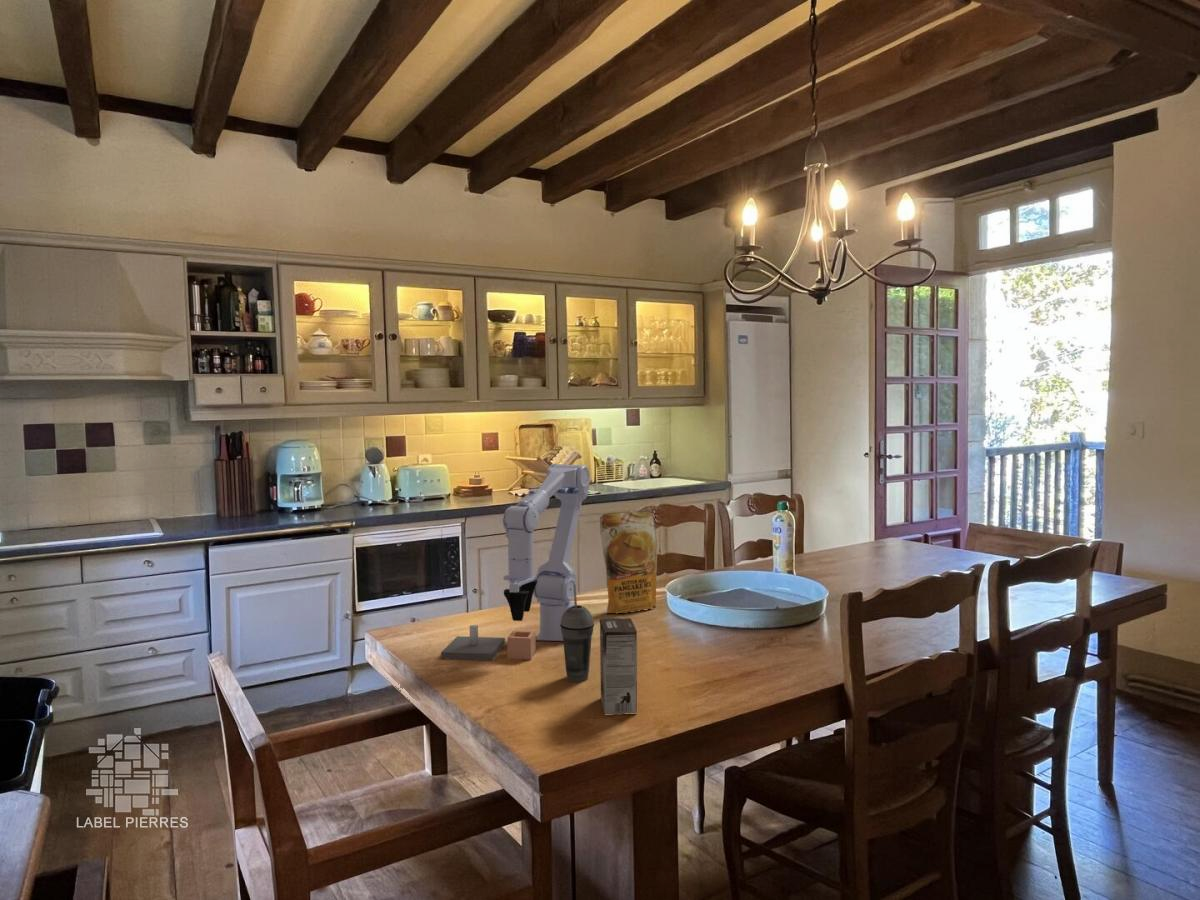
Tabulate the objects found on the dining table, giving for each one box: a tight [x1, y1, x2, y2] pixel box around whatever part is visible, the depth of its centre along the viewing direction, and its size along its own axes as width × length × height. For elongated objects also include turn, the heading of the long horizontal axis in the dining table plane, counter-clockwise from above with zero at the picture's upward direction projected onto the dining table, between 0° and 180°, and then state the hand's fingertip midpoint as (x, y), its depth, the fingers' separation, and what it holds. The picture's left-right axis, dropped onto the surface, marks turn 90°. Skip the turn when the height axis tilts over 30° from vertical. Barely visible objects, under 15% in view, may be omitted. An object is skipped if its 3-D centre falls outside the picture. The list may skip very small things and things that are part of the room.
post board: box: [441, 624, 506, 661], centre depth 179 cm, size 12×12×6 cm
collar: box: [507, 630, 537, 661], centre depth 176 cm, size 5×5×5 cm
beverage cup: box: [560, 584, 595, 683], centre depth 161 cm, size 7×7×20 cm
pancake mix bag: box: [599, 510, 658, 615], centre depth 214 cm, size 7×19×28 cm, turn 117°
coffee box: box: [599, 617, 638, 715], centre depth 146 cm, size 9×6×16 cm
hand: (521, 615), depth 175 cm, fingers open, 7 cm apart
